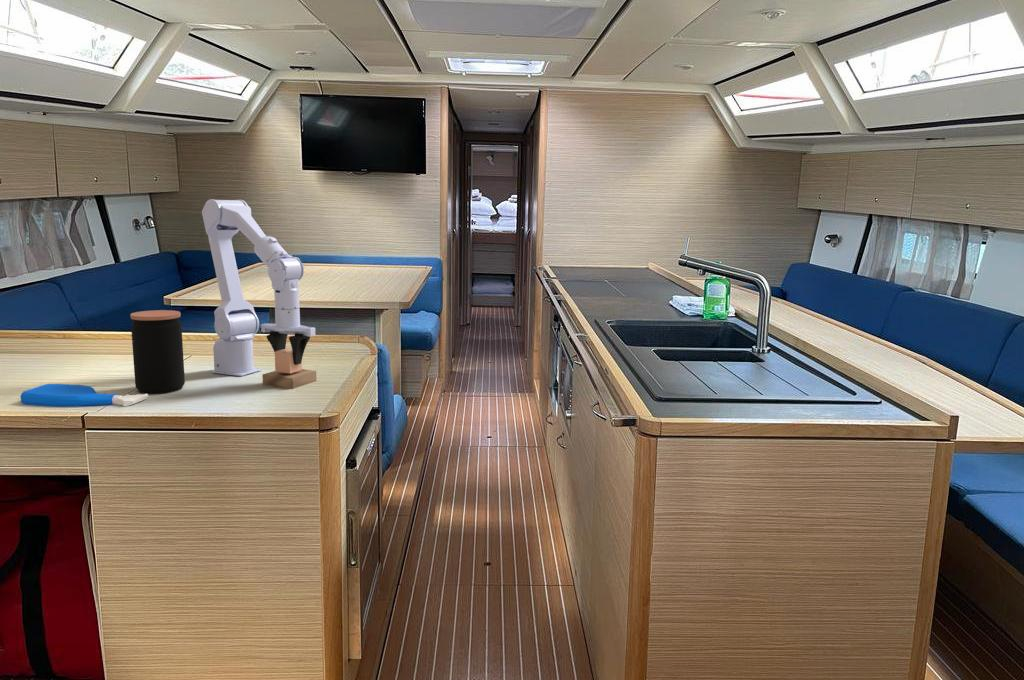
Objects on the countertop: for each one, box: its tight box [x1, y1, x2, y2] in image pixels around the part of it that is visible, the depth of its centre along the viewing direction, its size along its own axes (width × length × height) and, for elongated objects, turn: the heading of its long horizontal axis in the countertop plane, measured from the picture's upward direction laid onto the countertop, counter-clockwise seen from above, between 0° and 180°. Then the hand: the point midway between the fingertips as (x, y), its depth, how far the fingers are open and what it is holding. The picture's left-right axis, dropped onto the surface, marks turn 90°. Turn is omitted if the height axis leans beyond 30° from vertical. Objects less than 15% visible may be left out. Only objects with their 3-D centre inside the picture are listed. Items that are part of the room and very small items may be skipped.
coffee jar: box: [129, 309, 186, 395], centre depth 179 cm, size 11×11×18 cm
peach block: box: [274, 347, 303, 374], centre depth 188 cm, size 4×4×5 cm
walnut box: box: [262, 368, 317, 390], centre depth 189 cm, size 9×9×3 cm
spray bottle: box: [20, 383, 149, 408], centre depth 169 cm, size 3×11×24 cm
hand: (289, 363), depth 188 cm, fingers closed on peach block, 4 cm apart
